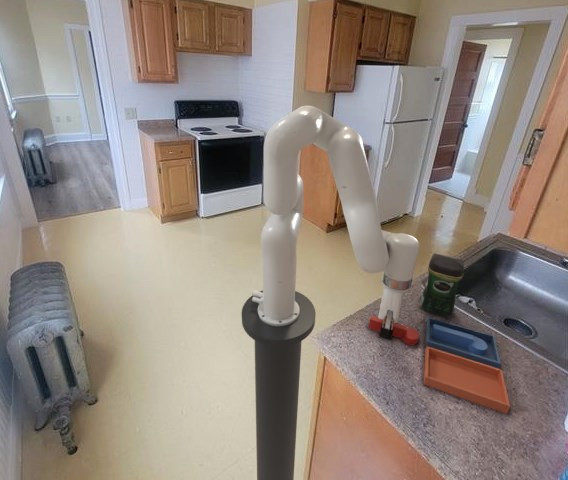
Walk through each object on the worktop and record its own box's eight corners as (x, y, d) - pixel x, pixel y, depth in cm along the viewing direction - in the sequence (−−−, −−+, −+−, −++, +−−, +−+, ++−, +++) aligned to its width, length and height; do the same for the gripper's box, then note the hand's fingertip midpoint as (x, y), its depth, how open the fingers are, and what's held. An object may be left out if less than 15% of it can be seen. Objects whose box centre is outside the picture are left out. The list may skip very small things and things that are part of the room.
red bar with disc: (367, 331, 92) (369, 322, 91) (370, 321, 96) (371, 312, 95) (417, 347, 87) (419, 337, 86) (417, 335, 91) (420, 326, 90)
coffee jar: (452, 305, 103) (466, 256, 96) (452, 321, 97) (467, 269, 89) (420, 296, 107) (432, 248, 100) (418, 310, 101) (429, 260, 93)
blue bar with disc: (431, 340, 89) (433, 331, 88) (431, 329, 93) (433, 320, 91) (486, 357, 84) (489, 348, 83) (484, 345, 88) (487, 336, 86)
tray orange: (423, 384, 77) (425, 377, 76) (424, 352, 86) (426, 345, 85) (506, 414, 71) (510, 406, 70) (499, 376, 79) (502, 369, 78)
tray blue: (425, 347, 87) (426, 341, 86) (426, 323, 96) (427, 316, 95) (498, 371, 81) (501, 363, 80) (492, 342, 90) (494, 335, 89)
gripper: (386, 259, 94) (377, 309, 101) (377, 293, 79) (368, 348, 86) (413, 265, 91) (402, 316, 98) (409, 302, 77) (397, 358, 84)
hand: (386, 330), depth 92 cm, fingers open, 4 cm apart
